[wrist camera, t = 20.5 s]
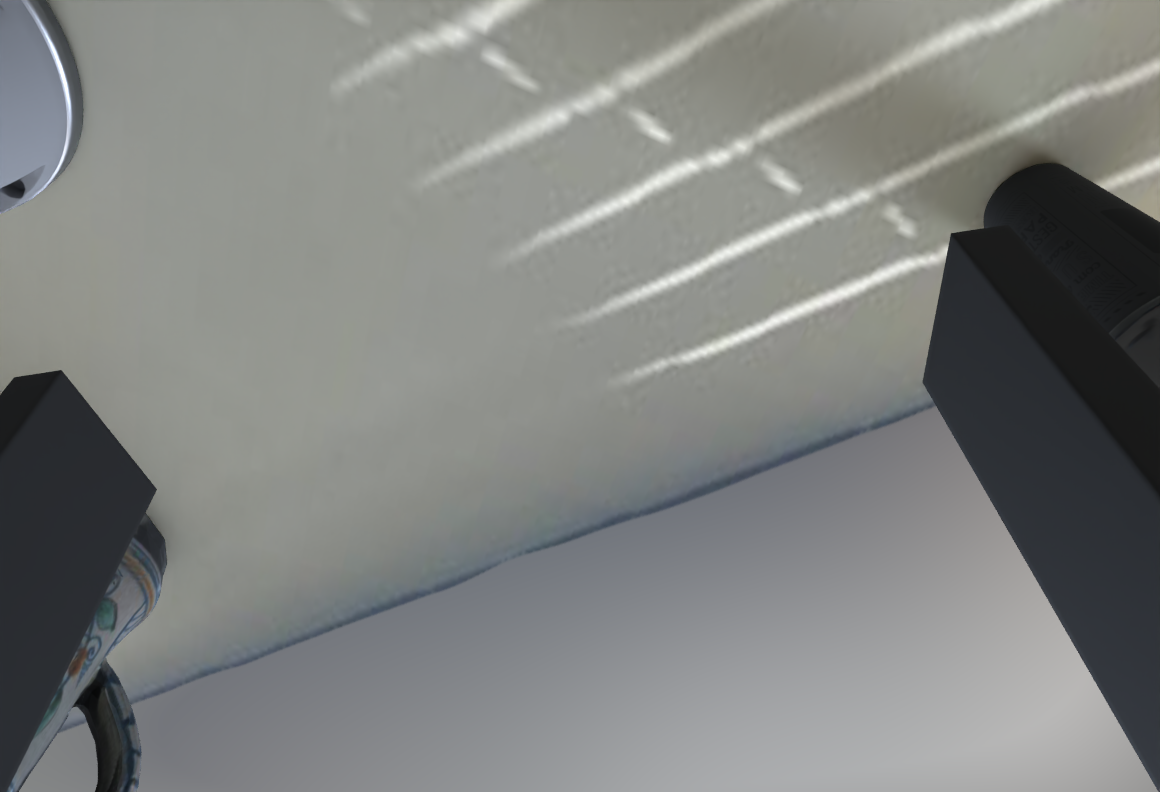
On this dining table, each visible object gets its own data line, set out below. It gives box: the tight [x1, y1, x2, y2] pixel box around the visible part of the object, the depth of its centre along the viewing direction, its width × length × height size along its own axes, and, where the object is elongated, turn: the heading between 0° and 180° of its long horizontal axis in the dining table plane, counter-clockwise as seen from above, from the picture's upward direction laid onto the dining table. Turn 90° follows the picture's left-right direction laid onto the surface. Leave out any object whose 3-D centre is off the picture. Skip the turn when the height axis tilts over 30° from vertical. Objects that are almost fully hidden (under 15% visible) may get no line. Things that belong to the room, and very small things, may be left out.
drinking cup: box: [984, 164, 1160, 388], centre depth 33 cm, size 8×8×20 cm
